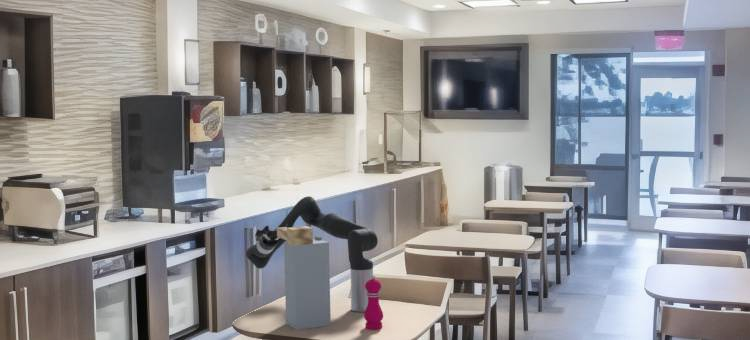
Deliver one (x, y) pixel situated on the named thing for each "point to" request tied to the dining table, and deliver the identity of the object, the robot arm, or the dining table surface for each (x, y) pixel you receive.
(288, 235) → the t key
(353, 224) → the robot arm
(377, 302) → the pepper mill
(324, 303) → the stand
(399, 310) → the dining table surface
